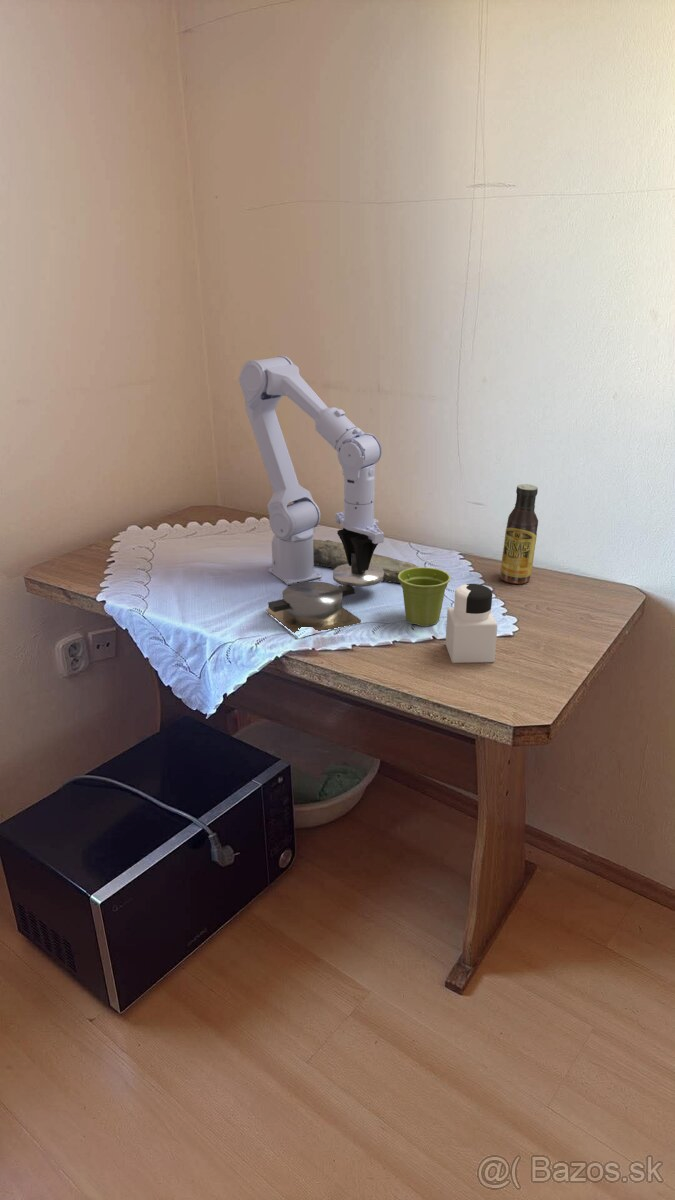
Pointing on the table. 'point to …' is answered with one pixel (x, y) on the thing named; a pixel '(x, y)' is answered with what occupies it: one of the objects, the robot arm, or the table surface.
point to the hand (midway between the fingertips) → (358, 567)
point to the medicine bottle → (471, 625)
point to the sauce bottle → (520, 537)
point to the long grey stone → (336, 556)
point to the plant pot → (423, 594)
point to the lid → (357, 574)
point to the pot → (313, 606)
